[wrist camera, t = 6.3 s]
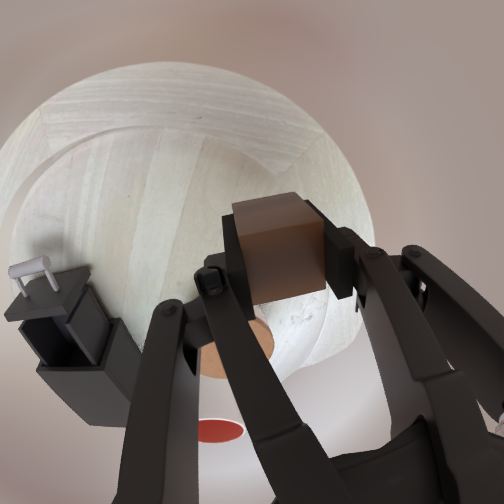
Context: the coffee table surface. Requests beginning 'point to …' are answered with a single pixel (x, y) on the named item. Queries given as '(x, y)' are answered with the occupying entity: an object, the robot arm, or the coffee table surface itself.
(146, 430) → the robot arm
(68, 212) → the coffee table surface
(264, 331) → the trinket box
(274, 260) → the block
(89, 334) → the pull-out drawer
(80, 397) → the dark drawer box
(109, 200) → the coffee table surface
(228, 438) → the cup
